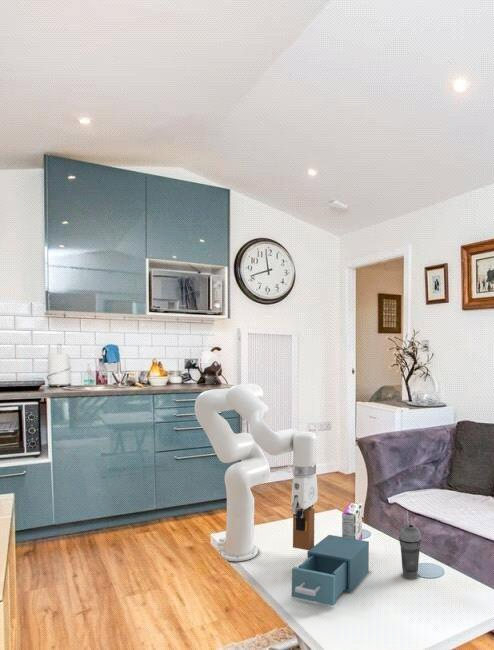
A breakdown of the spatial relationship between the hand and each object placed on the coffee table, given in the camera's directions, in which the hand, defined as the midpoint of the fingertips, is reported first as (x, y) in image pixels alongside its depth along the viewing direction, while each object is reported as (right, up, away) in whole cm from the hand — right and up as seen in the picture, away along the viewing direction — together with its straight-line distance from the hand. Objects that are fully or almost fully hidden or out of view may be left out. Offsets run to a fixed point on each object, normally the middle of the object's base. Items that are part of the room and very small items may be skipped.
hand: (303, 527), depth 159 cm
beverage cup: (+34, -14, -3) cm, 37 cm away
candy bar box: (+15, -15, +11) cm, 24 cm away
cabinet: (+12, -14, -5) cm, 19 cm away
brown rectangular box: (0, -6, 0) cm, 6 cm away
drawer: (+7, -12, -17) cm, 22 cm away
